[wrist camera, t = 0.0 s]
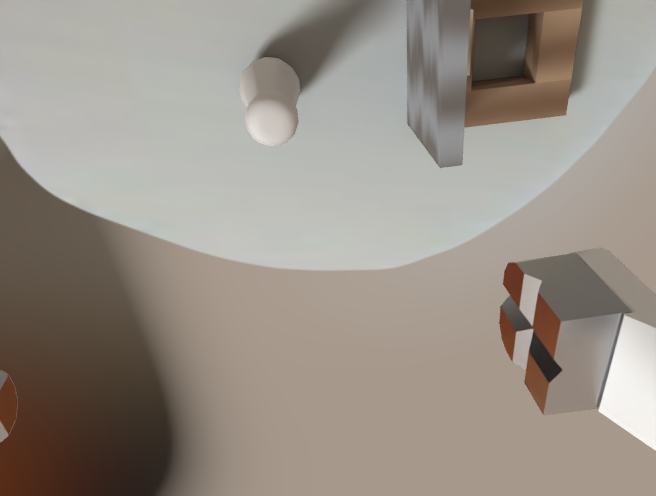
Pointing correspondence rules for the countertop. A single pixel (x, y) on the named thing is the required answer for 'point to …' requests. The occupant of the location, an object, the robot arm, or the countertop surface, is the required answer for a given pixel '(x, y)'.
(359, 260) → the countertop surface
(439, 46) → the socket dock
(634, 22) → the countertop surface
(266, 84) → the salt shaker
